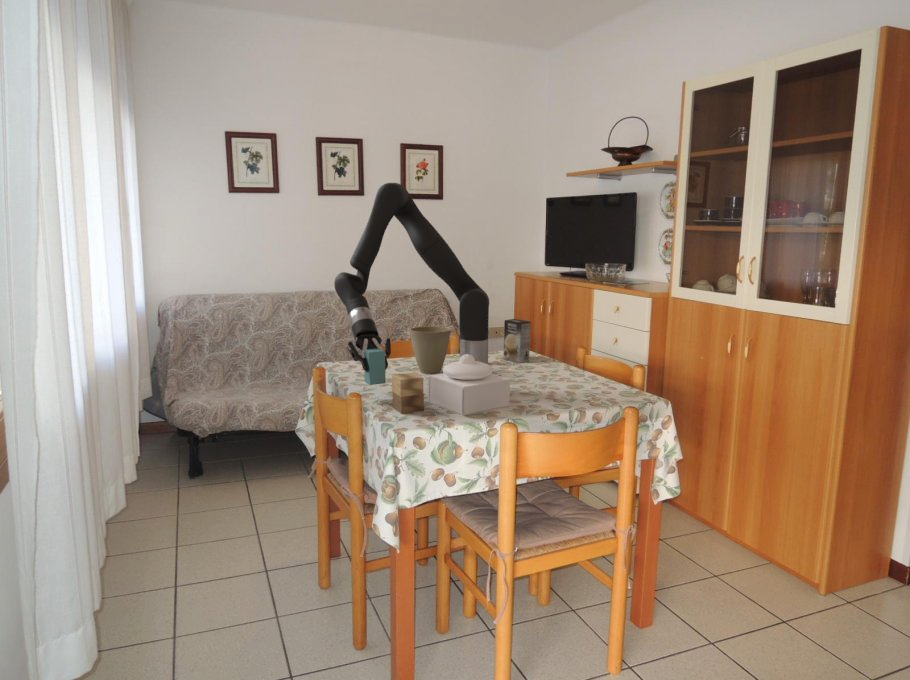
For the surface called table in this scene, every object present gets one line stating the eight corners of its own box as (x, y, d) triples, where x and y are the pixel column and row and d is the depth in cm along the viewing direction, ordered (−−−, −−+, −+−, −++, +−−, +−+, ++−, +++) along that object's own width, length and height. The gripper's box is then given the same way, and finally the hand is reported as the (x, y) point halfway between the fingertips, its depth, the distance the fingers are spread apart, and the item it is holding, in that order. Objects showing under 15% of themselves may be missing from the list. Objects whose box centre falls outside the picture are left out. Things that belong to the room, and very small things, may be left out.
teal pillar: (380, 379, 208) (379, 348, 206) (385, 383, 204) (384, 350, 202) (364, 381, 206) (363, 349, 204) (369, 385, 201) (368, 352, 200)
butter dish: (473, 395, 214) (474, 346, 212) (510, 407, 200) (511, 355, 197) (427, 403, 204) (427, 352, 201) (463, 417, 190) (464, 362, 187)
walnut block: (414, 405, 201) (414, 388, 201) (423, 411, 195) (423, 394, 194) (392, 407, 198) (392, 391, 198) (401, 413, 192) (401, 396, 191)
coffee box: (502, 359, 270) (503, 319, 267) (513, 357, 274) (514, 318, 271) (519, 363, 263) (520, 322, 260) (530, 360, 267) (531, 321, 265)
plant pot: (452, 368, 253) (452, 326, 250) (448, 377, 238) (448, 332, 235) (413, 366, 254) (413, 325, 251) (406, 375, 239) (406, 331, 237)
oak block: (414, 388, 201) (414, 372, 200) (423, 394, 194) (423, 377, 193) (392, 391, 198) (392, 374, 197) (400, 396, 191) (400, 379, 191)
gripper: (342, 319, 205) (356, 365, 196) (387, 316, 211) (402, 360, 203) (338, 333, 211) (351, 379, 202) (381, 330, 217) (396, 374, 208)
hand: (376, 369), depth 202 cm, fingers closed on teal pillar, 5 cm apart
